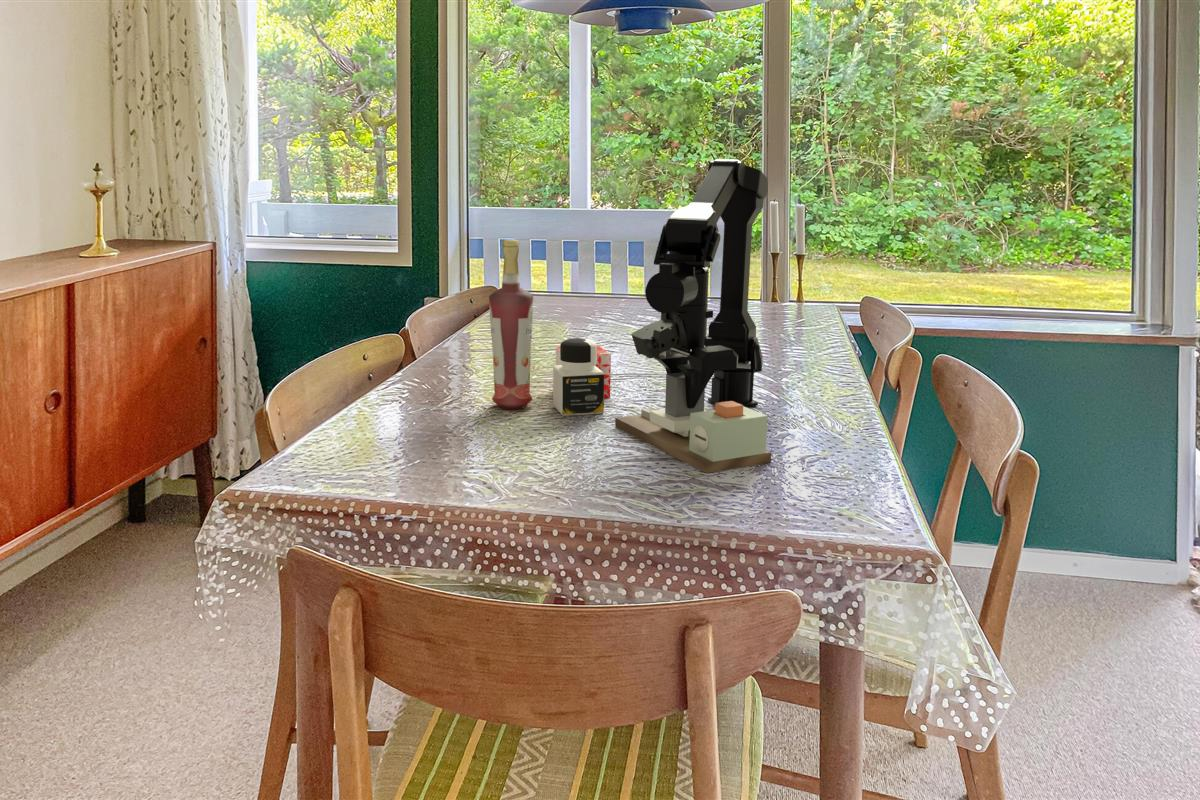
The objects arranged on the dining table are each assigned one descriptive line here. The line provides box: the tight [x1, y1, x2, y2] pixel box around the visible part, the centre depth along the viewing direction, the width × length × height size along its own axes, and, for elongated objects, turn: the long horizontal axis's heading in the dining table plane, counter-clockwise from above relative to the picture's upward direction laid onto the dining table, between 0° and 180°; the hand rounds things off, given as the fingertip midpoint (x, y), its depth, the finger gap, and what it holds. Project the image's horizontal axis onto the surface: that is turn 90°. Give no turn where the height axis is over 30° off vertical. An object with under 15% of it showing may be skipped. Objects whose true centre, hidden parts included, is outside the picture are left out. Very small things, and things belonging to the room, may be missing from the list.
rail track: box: [614, 407, 772, 474], centre depth 158 cm, size 11×26×2 cm, turn 28°
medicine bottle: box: [552, 337, 605, 417], centre depth 175 cm, size 7×7×12 cm
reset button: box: [714, 401, 743, 419], centre depth 148 cm, size 3×3×4 cm
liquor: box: [488, 239, 534, 411], centre depth 175 cm, size 7×7×28 cm
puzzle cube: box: [555, 344, 612, 399], centre depth 187 cm, size 8×8×8 cm
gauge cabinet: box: [689, 406, 769, 462], centre depth 149 cm, size 9×6×6 cm, turn 118°
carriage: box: [650, 372, 708, 437], centre depth 158 cm, size 8×7×8 cm
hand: (684, 405), depth 158 cm, fingers closed on carriage, 3 cm apart
